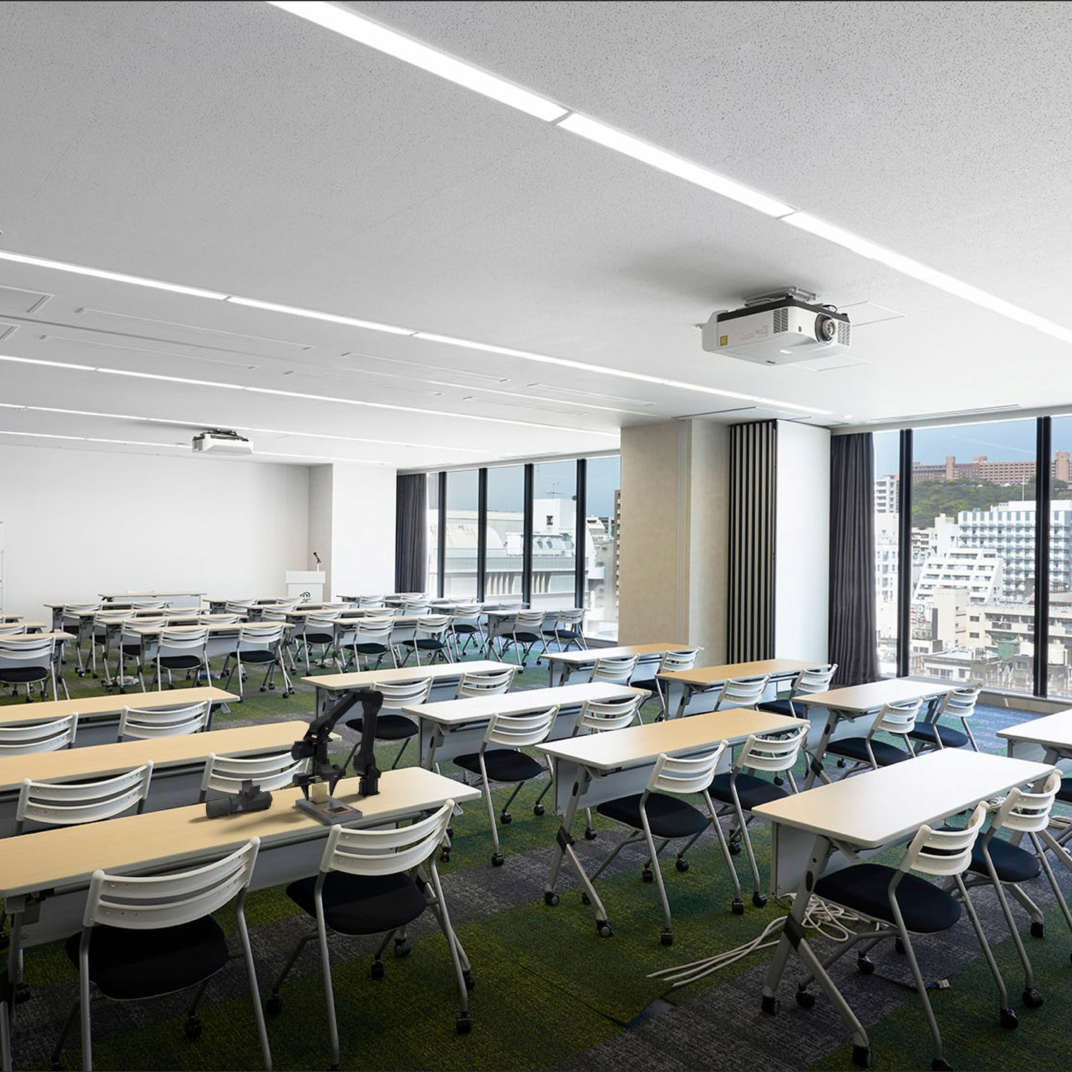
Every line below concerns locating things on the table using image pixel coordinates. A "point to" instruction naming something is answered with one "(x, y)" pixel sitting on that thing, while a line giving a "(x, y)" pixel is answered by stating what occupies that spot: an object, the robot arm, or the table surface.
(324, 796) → the brass peg
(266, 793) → the laser sight
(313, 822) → the table surface
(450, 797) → the table surface
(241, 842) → the table surface
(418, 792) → the table surface
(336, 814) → the socket plate
